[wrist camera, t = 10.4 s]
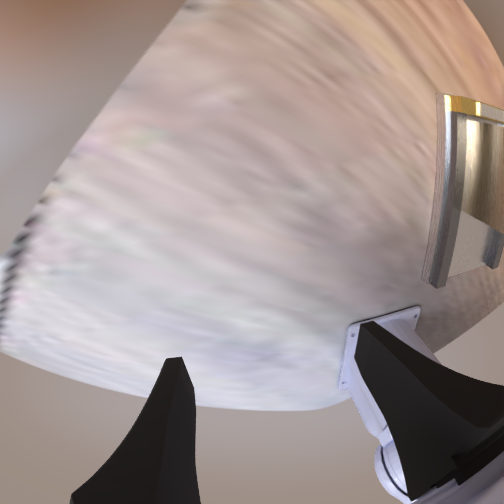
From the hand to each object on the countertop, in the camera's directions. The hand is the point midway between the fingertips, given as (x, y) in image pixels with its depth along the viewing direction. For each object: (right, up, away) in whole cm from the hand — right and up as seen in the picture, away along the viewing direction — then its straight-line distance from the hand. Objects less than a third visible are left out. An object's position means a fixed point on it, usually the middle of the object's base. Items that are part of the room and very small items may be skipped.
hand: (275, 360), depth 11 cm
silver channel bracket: (+19, +10, +9) cm, 23 cm away
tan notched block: (+19, +11, +7) cm, 23 cm away
